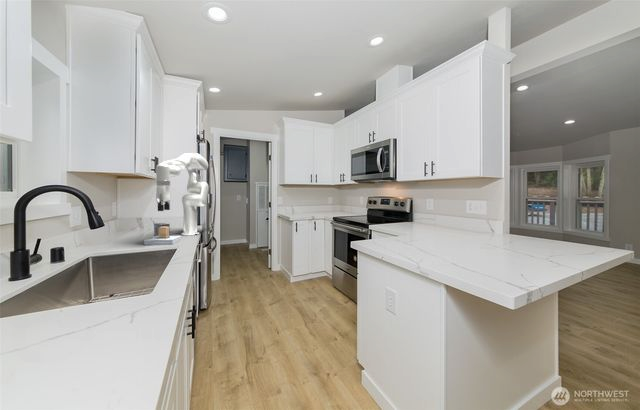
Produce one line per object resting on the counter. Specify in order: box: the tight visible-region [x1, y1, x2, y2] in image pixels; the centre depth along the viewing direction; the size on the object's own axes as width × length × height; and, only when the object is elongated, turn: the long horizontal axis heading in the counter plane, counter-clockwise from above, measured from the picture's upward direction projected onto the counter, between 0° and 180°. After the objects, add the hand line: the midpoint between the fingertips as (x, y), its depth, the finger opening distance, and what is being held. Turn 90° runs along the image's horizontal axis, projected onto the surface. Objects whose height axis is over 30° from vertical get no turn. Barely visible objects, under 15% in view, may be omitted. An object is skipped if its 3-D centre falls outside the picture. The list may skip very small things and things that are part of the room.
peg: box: [159, 227, 170, 239], centre depth 164 cm, size 4×4×10 cm
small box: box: [153, 222, 171, 237], centre depth 180 cm, size 11×6×10 cm, turn 56°
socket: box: [143, 235, 182, 246], centre depth 164 cm, size 16×16×3 cm
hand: (163, 210), depth 163 cm, fingers open, 9 cm apart
